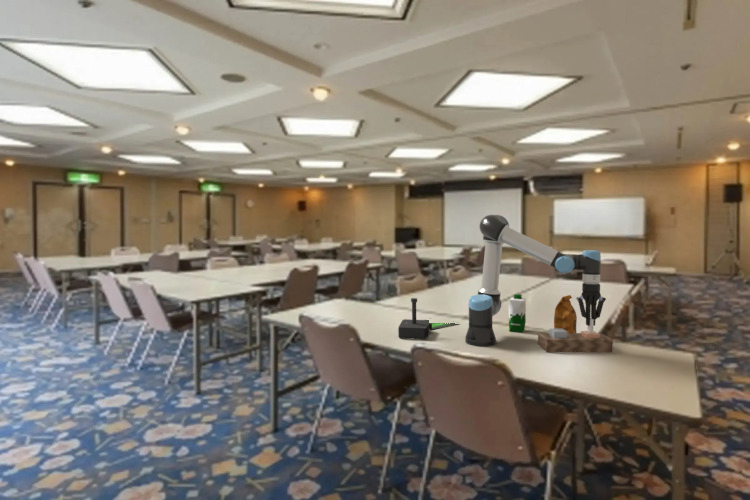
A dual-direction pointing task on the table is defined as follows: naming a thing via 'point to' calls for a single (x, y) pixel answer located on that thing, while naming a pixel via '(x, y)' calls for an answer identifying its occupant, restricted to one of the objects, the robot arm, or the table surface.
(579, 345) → the brown woven basket
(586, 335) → the terracotta key
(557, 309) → the coffee package
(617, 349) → the table surface
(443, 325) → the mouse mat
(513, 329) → the milk carton
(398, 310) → the table surface
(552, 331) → the slate key
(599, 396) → the table surface
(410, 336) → the black joystick
